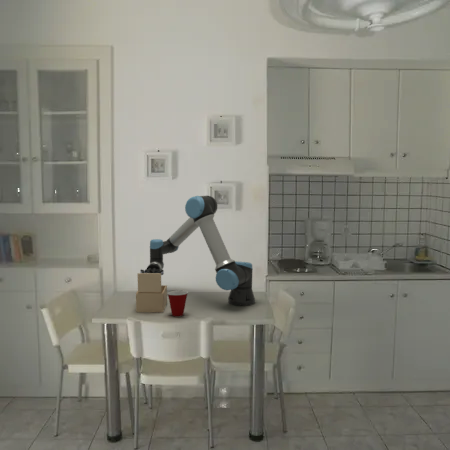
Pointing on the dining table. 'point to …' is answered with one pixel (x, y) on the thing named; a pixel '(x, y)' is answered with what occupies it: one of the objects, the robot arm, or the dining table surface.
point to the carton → (151, 300)
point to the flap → (149, 282)
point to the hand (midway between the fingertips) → (147, 278)
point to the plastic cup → (177, 302)
